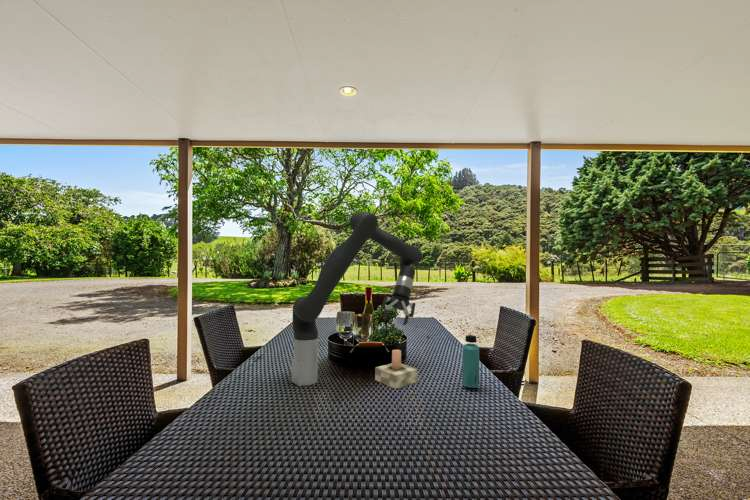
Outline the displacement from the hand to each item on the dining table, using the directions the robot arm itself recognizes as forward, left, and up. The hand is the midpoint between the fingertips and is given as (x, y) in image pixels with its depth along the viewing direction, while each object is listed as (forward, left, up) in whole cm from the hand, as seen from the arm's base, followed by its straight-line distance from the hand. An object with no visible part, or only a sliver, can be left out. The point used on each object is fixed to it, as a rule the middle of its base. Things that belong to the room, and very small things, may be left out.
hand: (394, 322), depth 157 cm
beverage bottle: (+11, -31, -22) cm, 39 cm away
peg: (-6, -8, -21) cm, 24 cm away
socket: (-6, -8, -21) cm, 24 cm away
